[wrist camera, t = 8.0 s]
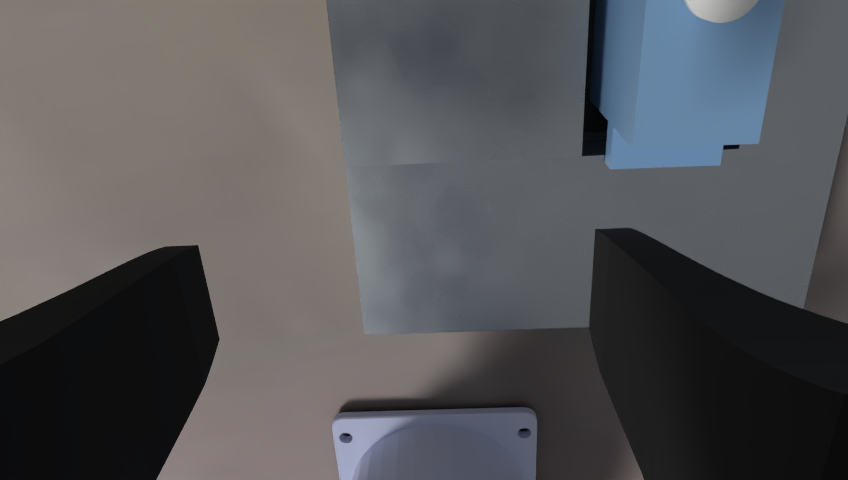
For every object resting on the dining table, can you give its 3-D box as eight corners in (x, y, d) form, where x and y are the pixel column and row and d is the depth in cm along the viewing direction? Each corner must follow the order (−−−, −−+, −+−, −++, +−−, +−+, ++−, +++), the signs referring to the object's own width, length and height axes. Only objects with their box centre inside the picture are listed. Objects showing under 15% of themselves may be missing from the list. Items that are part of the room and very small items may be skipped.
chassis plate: (766, 283, 23) (802, 321, 20) (371, 297, 23) (364, 336, 21) (878, -285, 16) (949, -320, 14) (314, -242, 17) (294, -270, 14)
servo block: (681, 133, 21) (759, 198, 16) (587, 137, 21) (633, 202, 16) (716, -135, 17) (827, -161, 12) (604, -129, 17) (668, -152, 13)
